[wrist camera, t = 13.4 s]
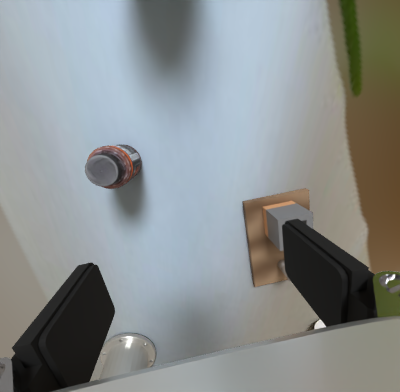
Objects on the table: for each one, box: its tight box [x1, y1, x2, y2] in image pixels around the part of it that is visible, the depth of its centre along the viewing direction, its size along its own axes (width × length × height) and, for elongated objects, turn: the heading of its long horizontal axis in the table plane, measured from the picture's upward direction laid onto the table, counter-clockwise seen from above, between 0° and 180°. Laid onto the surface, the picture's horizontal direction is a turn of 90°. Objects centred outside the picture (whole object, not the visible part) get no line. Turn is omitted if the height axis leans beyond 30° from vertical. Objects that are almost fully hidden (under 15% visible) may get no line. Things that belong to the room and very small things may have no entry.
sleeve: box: [263, 201, 313, 251], centre depth 37 cm, size 6×6×6 cm
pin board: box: [243, 188, 310, 287], centre depth 40 cm, size 20×13×6 cm, turn 11°
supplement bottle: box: [85, 145, 141, 189], centre depth 30 cm, size 6×6×11 cm
